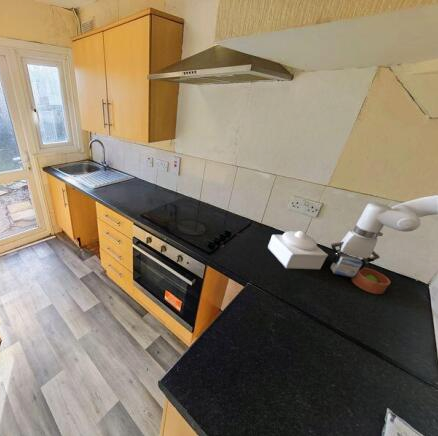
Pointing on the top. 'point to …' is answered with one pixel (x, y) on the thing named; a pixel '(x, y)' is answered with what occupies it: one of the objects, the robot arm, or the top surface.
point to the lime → (371, 278)
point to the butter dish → (297, 250)
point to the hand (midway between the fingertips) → (346, 264)
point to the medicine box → (346, 265)
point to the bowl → (369, 284)
